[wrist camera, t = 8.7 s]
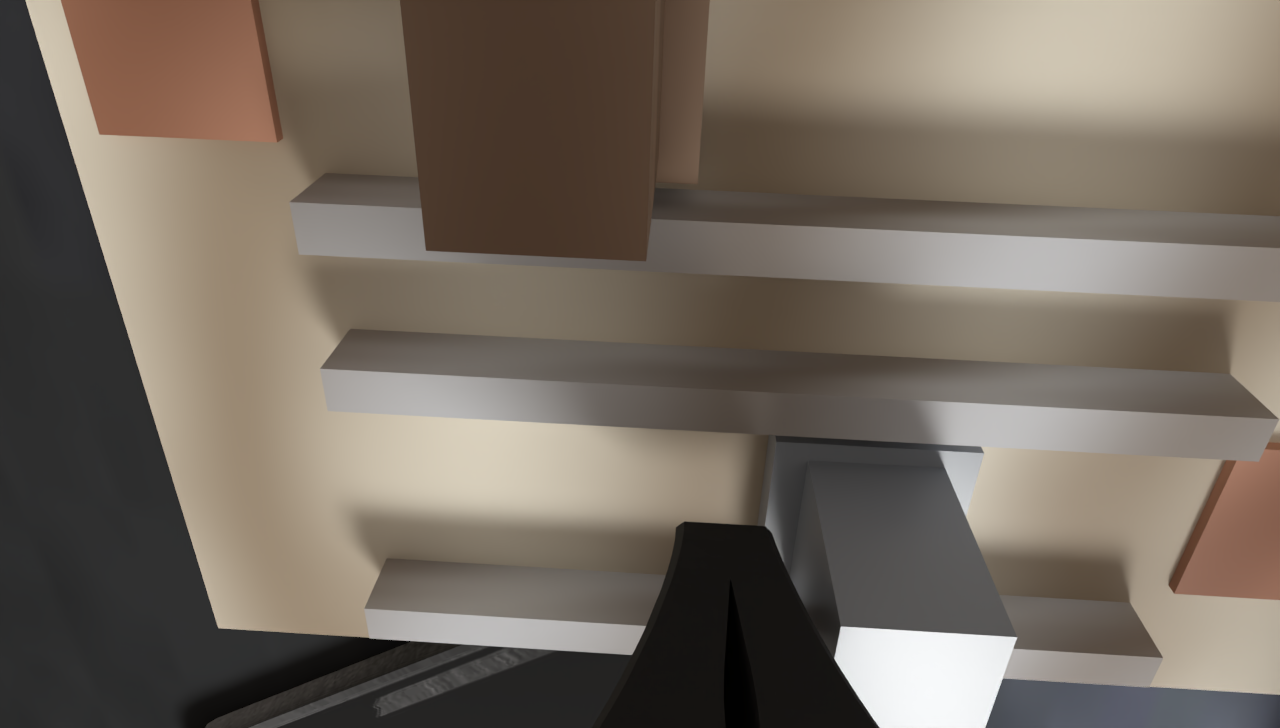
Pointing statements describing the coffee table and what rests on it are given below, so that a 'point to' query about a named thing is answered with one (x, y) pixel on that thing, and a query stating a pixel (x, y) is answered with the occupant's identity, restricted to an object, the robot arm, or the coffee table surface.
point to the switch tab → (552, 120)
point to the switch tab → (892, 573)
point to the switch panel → (714, 318)
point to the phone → (446, 691)
